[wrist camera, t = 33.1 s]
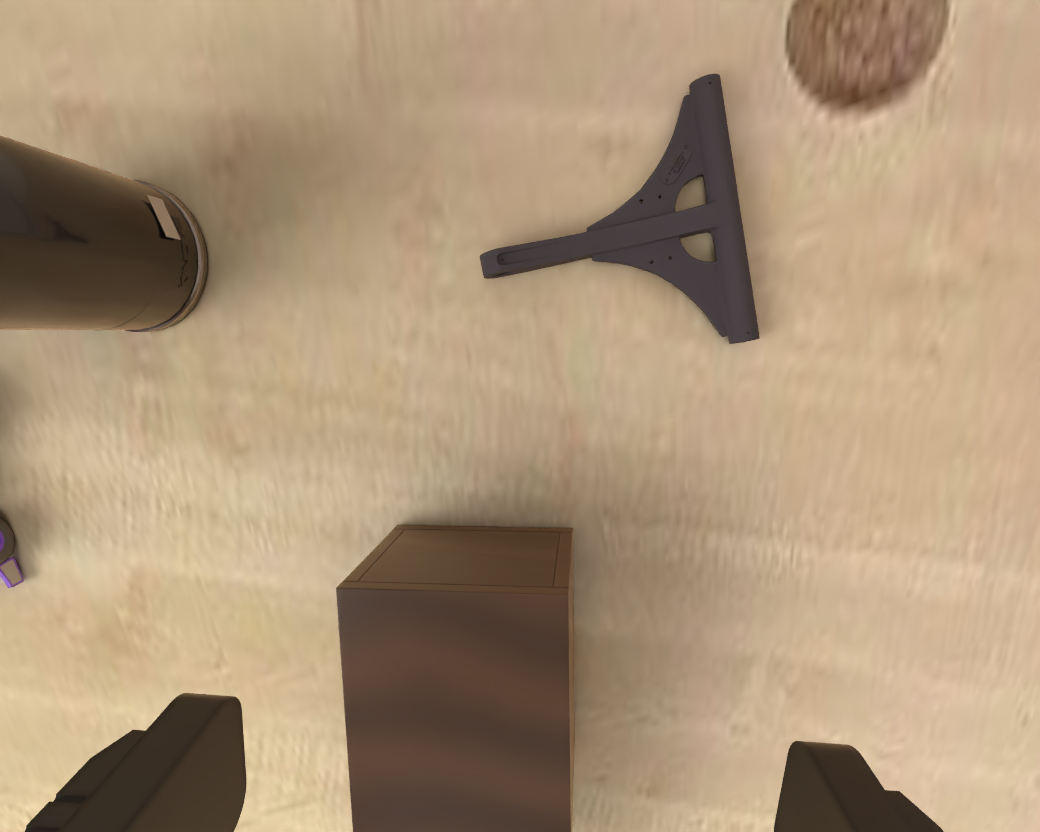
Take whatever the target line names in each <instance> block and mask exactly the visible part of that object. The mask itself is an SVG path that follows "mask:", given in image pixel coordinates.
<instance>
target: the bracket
mask: <svg viewBox="0 0 1040 832" xmlns="http://www.w3.org/2000/svg"><path fill="white" fill-rule="evenodd" d="M689 88H690V94H689V95H686V96H685V97H684V99H683V102H682V106H681V110H680V114H679V117H678V121H677V124H676V128H675V131H674V133H673V136H672V139H671V141H670V144H669V146H668V148H667V150H666V152H665V154H664V156H663V158H662V160H661V161H660V163H659V165H658V166H657V168H656V169H655V171H654V172H653V174H652V175H651V177H650V178H649V179H648V181H647V182H646V183H645V185H644V186H643V187H642V188H641V190H640V191H638V192H637V193H636V194H635V195H634V196H633V197H632V198H631V199H629V200H628V201H627V202H626V203H625V204H624V205H623V206H621V207H620V208H619V209H617V210H616V211H615V212H613V213H612V214H610V215H608V216H607V217H605V218H603V219H602V220H600V221H598V222H596V223H594V224H593V225H591V226H589V227H588V228H587V232H584V233H580V234H575V235H570V236H565V237H559V238H554V239H548V240H543V241H537V242H532V243H527V244H521V245H515V246H509V247H503V248H498V249H494V250H491V251H488V252H485V253H483V254H482V255H480V261H481V265H482V270H483V275H484V278H498V277H504V276H509V275H513V274H518V273H523V272H527V271H532V270H536V269H541V268H545V267H550V266H554V265H559V264H564V263H568V262H573V261H577V260H582V259H586V258H591V257H592V260H593V261H600V262H611V263H620V264H625V265H629V266H633V267H637V268H640V269H643V270H646V271H649V272H652V273H655V274H657V275H659V276H660V277H662V278H664V279H665V280H667V281H668V282H670V283H672V284H673V285H675V286H676V287H677V288H679V289H680V290H681V291H683V292H684V293H685V294H686V295H687V296H689V297H690V298H691V299H692V300H693V301H694V302H695V303H696V304H697V305H698V306H699V307H700V308H701V310H702V311H703V312H704V313H705V314H706V316H707V317H708V318H709V320H710V321H711V322H712V324H713V325H714V327H715V328H716V330H717V331H718V333H719V334H720V335H721V336H722V337H725V336H728V337H729V343H730V344H733V343H740V342H746V341H751V340H756V339H759V331H758V324H757V318H756V311H755V305H754V298H753V291H752V285H751V278H750V272H749V265H748V258H747V252H746V245H745V238H744V232H743V225H742V219H741V212H740V205H739V199H738V192H737V185H736V179H735V172H734V166H733V159H732V152H731V146H730V139H729V133H728V126H727V119H726V113H725V106H724V99H723V93H722V86H721V80H720V75H718V74H710V75H706V76H703V77H701V78H698V79H697V80H695V81H693V82H692V83H691V84H690V85H689ZM700 175H703V177H704V183H705V190H706V198H707V204H706V205H702V206H698V207H694V208H690V209H686V210H682V211H678V212H675V202H676V198H677V195H678V193H679V191H680V190H681V188H682V187H683V186H684V185H685V184H686V183H687V182H688V181H690V180H691V179H693V178H695V177H697V176H700ZM658 196H660V197H661V198H660V199H659V198H658ZM640 201H642V203H640ZM706 232H707V233H711V234H712V237H713V241H714V247H715V253H716V261H715V262H705V261H700V260H697V259H695V258H693V257H692V256H690V255H689V254H688V253H687V252H686V251H685V249H684V248H683V246H682V245H681V242H680V238H682V237H686V236H691V235H696V234H701V233H706ZM668 257H670V258H671V259H670V260H669V259H668ZM650 261H652V262H653V263H652V264H651V263H650Z"/></svg>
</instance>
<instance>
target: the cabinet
mask: <svg viewBox="0 0 1040 832" xmlns="http://www.w3.org/2000/svg"><path fill="white" fill-rule="evenodd" d="M336 593H337V607H338V622H339V636H340V650H341V665H342V679H343V693H344V707H345V722H346V736H347V750H348V765H349V779H350V793H351V808H352V822H353V832H572V816H573V780H574V743H575V712H574V593H573V528H534V527H475V526H416V525H397V526H396V527H395V528H394V530H392V531H391V532H390V533H389V534H388V536H387V537H386V538H385V539H384V540H383V541H382V542H381V543H380V544H379V545H378V546H377V547H376V548H375V549H374V550H373V551H372V552H371V553H370V554H369V555H368V556H367V557H366V558H365V559H364V560H363V561H362V562H361V563H360V564H359V565H358V566H357V567H356V568H355V570H354V571H353V572H352V573H351V574H350V575H349V576H348V577H347V578H346V579H345V580H344V581H343V582H342V583H341V584H340V585H339V586H338V587H337V588H336Z"/></svg>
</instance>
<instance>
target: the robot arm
mask: <svg viewBox="0 0 1040 832" xmlns="http://www.w3.org/2000/svg"><path fill="white" fill-rule="evenodd" d="M206 273H207V254H206V248H205V243H204V239H203V236H202V233H201V231H200V229H199V226H198V224H197V223H196V221H195V219H194V218H193V216H192V214H191V213H190V212H189V210H188V209H187V208H186V207H185V206H184V205H183V204H182V203H181V202H180V201H179V200H178V199H177V198H176V197H174V196H173V195H172V194H170V193H169V192H167V191H165V190H163V189H161V188H159V187H157V186H154V185H151V184H148V183H145V182H141V181H137V180H131V179H128V178H125V177H122V176H119V175H116V174H113V173H110V172H107V171H105V170H102V169H99V168H96V167H93V166H90V165H87V164H84V163H81V162H78V161H75V160H72V159H69V158H66V157H63V156H60V155H57V154H54V153H51V152H48V151H45V150H42V149H39V148H36V147H33V146H30V145H27V144H24V143H21V142H18V141H15V140H12V139H9V138H6V137H3V136H0V330H125V331H132V332H151V331H158V330H162V329H165V328H168V327H170V326H172V325H174V324H176V323H177V322H179V321H180V320H182V319H183V318H184V317H185V316H186V315H187V314H188V313H189V312H190V311H191V310H192V308H193V307H194V306H195V304H196V303H197V301H198V299H199V297H200V295H201V293H202V290H203V287H204V284H205V279H206ZM245 793H246V768H245V753H244V737H243V722H242V709H241V704H240V701H239V699H238V698H237V697H232V696H219V695H206V694H193V693H183V694H181V695H179V696H178V697H176V698H175V699H174V700H173V701H172V702H171V703H170V704H169V705H168V707H167V708H166V709H165V710H164V711H163V712H162V713H161V714H160V716H159V717H158V718H157V719H156V720H155V721H154V722H153V723H152V725H151V726H150V727H149V728H148V729H147V730H146V731H142V730H132V731H131V732H129V733H128V734H126V735H125V736H123V737H122V738H120V739H119V740H117V741H116V742H114V743H113V744H111V745H110V746H108V747H107V748H105V749H104V750H102V751H101V752H99V753H98V754H96V755H95V756H93V757H92V758H90V759H89V760H88V762H87V763H86V764H85V765H84V766H83V767H82V768H81V769H80V770H79V771H78V772H77V773H76V774H75V775H74V776H73V777H72V778H71V779H70V780H69V782H68V783H67V784H66V785H65V786H64V787H63V788H62V789H61V790H60V791H59V792H58V793H57V794H56V798H55V800H54V801H53V802H49V803H48V804H47V805H46V806H45V807H44V808H43V809H42V810H41V811H40V812H39V813H38V814H37V815H36V816H35V817H34V818H33V819H32V820H31V822H30V823H29V824H28V825H27V827H26V830H25V832H234V830H235V827H236V825H237V823H238V820H239V817H240V814H241V811H242V807H243V803H244V799H245ZM774 832H943V830H942V829H941V828H940V827H939V826H938V825H937V824H936V823H935V822H934V821H932V820H931V819H930V818H929V817H928V816H927V815H926V814H924V813H923V812H922V811H921V810H920V809H919V808H918V807H917V806H915V805H914V804H913V803H912V802H911V801H910V800H909V799H908V798H906V797H905V796H904V795H903V794H902V793H901V792H900V791H887V790H884V788H883V787H882V785H881V784H880V782H879V781H878V779H877V778H876V776H875V775H874V773H873V772H872V770H871V769H870V767H869V766H868V764H867V763H866V761H865V760H864V758H863V757H862V756H861V754H860V753H859V752H858V751H857V750H856V749H855V748H854V747H852V746H850V745H842V744H829V743H816V742H802V741H795V742H794V743H792V745H791V746H790V749H789V752H788V756H787V762H786V767H785V772H784V777H783V783H782V788H781V793H780V798H779V804H778V809H777V814H776V819H775V825H774Z"/></svg>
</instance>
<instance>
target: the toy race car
mask: <svg viewBox="0 0 1040 832" xmlns="http://www.w3.org/2000/svg"><path fill="white" fill-rule="evenodd" d="M13 547H14V535H13V532H12V530H11V528H10V527H9V526H8V524H7V523H6V522H4V521H3V520H2V519H0V583H2V582H5V584H6V585H7V587H8V588H10V587H14V586H16V585H17V584H19V583H21V582H23V581H24V580H23V577H22V574H21V572H20V570H19V567H18V565H17V563H16V560H15V558H14V557H10V558H8V557H9V556H10V554H11V552H12V550H13ZM7 558H8V559H7Z"/></svg>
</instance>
